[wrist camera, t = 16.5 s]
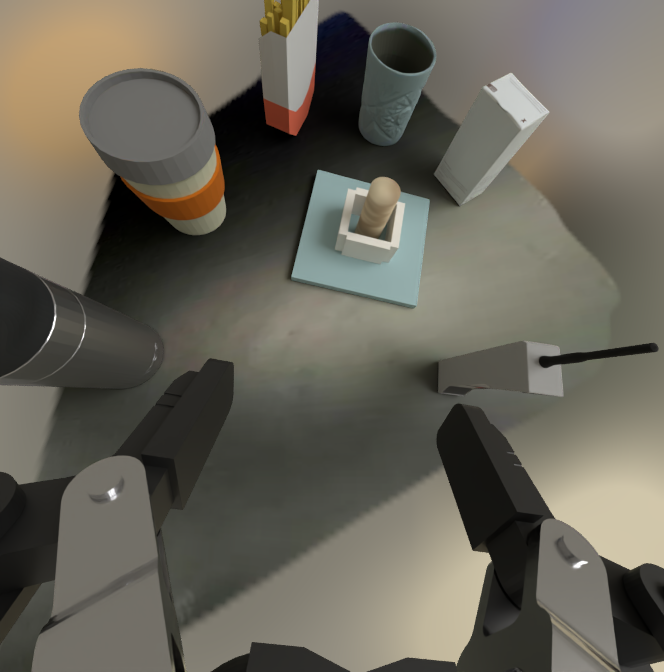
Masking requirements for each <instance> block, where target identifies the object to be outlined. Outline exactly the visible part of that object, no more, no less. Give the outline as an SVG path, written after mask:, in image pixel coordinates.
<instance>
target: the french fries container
mask: <svg viewBox="0 0 664 672" xmlns="http://www.w3.org/2000/svg"><path fill="white" fill-rule="evenodd" d="M264 3H265V18H264V17H263V18H262V19H261V20H260V28H261V35H262V37H260V38H259V49H260V61H261V74H262V86H263V98H264V107H265V116H266V124H268V125H270V126H273V127H275V128H277V129H280V130H282V131H284V132H286V133H289V134H292V135H295V136H296V135H297V133H298V131H299V129H300V128H301V126H302V124H303V122H304V120H305V118H306V117H307V115H308V111H309V107H310V103H311V99H312V95H313V91H314V80H315V61H316V42H317V23H318V3H319V0H281V4H280V3H278V2H276V1H275V2H274V0H264Z"/></svg>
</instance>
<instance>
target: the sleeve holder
mask: <svg viewBox="0 0 664 672" xmlns="http://www.w3.org/2000/svg"><path fill="white" fill-rule="evenodd" d="M370 185H371V184H370V183H366V182H362V181H358V180H354V179H351V178H347V177H343V176H339V175H336V174H332V173H328V172H324V171H321V170H318V171H317V175H316V179H315V183H314V187H313V191H312V195H311V200H310V204H309V208H308V212H307V216H306V220H305V224H304V228H303V232H302V236H301V240H300V244H299V248H298V252H297V256H296V260H295V264H294V268H293V272H292V276H291V280H293V281H298V282H302V283H306V284H311V285H315V286H319V287H324V288H328V289H332V290H336V291H341V292H345V293H349V294H354V295H358V296H362V297H367V298H371V299H375V300H380V301H384V302H388V303H393V304H397V305H401V306H406V307H410V308H415V307H416V306H417V300H418V291H419V283H420V275H421V267H422V259H423V251H424V243H425V235H426V227H427V219H428V211H429V203H430V199H426V198H422V197H418V196H415V195H411V194H407V193H403V192H401V194H400V198H399V200H398V201H397V203H396V205H395V207H394V209H393V211H392V213H391V215H390V217H389V219H388V221H387V223H386V225H385V227H384V229H383V231H382V233H381V235H380V237H379V239H375V238H371V237H367V236H363V235H359V234H355V233H354V232H355V229H356V226H357V223H358V220H359V217H360V214H361V211H362V209H363V206H364V203H365V200H366V197H367V194H368V191H369V188H370Z"/></svg>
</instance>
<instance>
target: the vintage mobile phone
mask: <svg viewBox="0 0 664 672" xmlns="http://www.w3.org/2000/svg"><path fill="white" fill-rule="evenodd" d="M657 351H658V346H657V345H656V344H655V343H649V344H642V345H635V346H629V347H621V348H615V349H608V350H601V351H594V352H587V353H581V352H578V353H570V354H564V355H560V348H559V347H558V346H556V345H550V344H543V343H536V342H529V341H519V342H515V343H511V344H507V345H502V346H498V347H494V348H490V349H486V350H481V351H477V352H473V353H469V354H465V355H461V356H456V357H452V358H448V359H444V360H440V361H439V372H438V393H442V394H451V395H459V396H465V395H466V394H467V393H469V392H470V391H471V390H472V389H499V390H509V391H519V392H522V393H532V394H541V395H551V396H560V397H563V385H562V372H561V364H570V363H579V362H583V361H587V360H592V359H600V358H609V357H617V356H625V355H633V354H642V353H650V352H657Z"/></svg>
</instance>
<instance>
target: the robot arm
mask: <svg viewBox="0 0 664 672" xmlns="http://www.w3.org/2000/svg"><path fill="white" fill-rule="evenodd" d="M162 358H163V344H162V340H161V338H160V336H159V335H158V334H157V332H156V331H155V330H154V329H152V328H151V327H150V326H148V325H146V324H143V323H141V322H139V321H137V320H135V319H133V318H131V317H129V316H127V315H124V314H122V313H120V312H118V311H116V310H114V309H111V308H109V307H107V306H105V305H103V304H100V303H98V302H96V301H94V300H92V299H90V298H87V297H85V296H83V295H81V294H79V293H77V292H74V291H72V290H70V289H68V288H66V287H63V286H61V285H59V284H57V283H54V282H52V281H50V280H48V279H46V278H44V277H41V276H39V275H37V274H35V273H33V272H30V271H28V270H26V269H24V268H22V267H20V266H17V265H15V264H13V263H10V262H8V261H6V260H4V259H2V258H0V385H19V386H52V387H82V388H110V389H127V388H132V387H135V386H138V385H140V384H142V383H144V382H145V381H147V380H148V379H150V378H151V377H152V376H153V375H154V374H155V372H156V371H157V370H158V368H159V366H160V364H161V362H162ZM233 387H234V365H233V363H232V362H228V361H222V360H216V359H208V360H207V362H206V363H205V364H204V366H203V367H202V369H201V370H200V371H199V372H194V371H188V372H187V373H185V374H183V375H182V376H180V377H179V378H177V379H175V380H174V381H173V383H172V384H171V385H170V386H169V388H168V389H167V390H166V391H165V393H164V395H162V396H161V398H160V399H159V400H158V401H157V403H156V405H155V406H153V408H152V409H151V410H150V411H149V413H148V414H147V415H146V416H145V417H144V419H143V420H142V421H141V422H140V424H139V425H138V426H137V427H136V429H135V430H134V431H133V432H132V434H131V435H130V436H129V437H128V439H127V440H126V441H125V442H124V444H123V445H122V446H121V447H120V449H119V450H118V451H117V452H116V453H115V454H114V455H113V456H112V457H109V458H105V459H103V460H100V461H98V462H96V463H94V464H92V465H90V466H89V467H87V468H85V469H84V470H83V471H81V472H80V473H79V474H78V475H76V476H72V477H67V478H61V479H54V480H47V481H41V482H34V483H28V484H21V485H18V484H17V482H16V481H15V480H14V478H13V477H12V476H11V475H9V474H7V473H4V472H0V644H1V643H2V641H3V640H4V638H5V637H6V635H7V634H8V632H9V631H10V629H11V628H12V626H13V625H14V624H15V622H16V621H17V619H18V618H19V616H20V615H21V613H22V612H23V610H24V609H25V607H26V606H27V604H28V603H29V601H30V600H31V598H32V597H33V595H34V594H35V592H36V591H37V589H38V588H39V586H40V585H41V584H42V583H44V582H48V581H52V580H55V589H54V602H53V610H52V615H51V618H50V620H49V622H48V623H47V624H46V625H45V626H44V627H43V628H42V630H41V632H40V634H39V637H38V640H37V643H36V647H35V651H34V657H33V664H32V672H187V671H186V665H185V659H184V653H183V647H182V641H181V636H180V631H179V625H178V621H177V616H176V611H175V607H174V601H173V595H172V590H171V584H170V578H169V572H168V566H167V560H166V554H165V548H164V542H163V536H162V530H161V526H162V524H163V522H164V520H165V518H166V516H167V514H168V512H169V510H170V508H171V509H179V510H183V509H184V507H185V505H186V503H187V500H188V498H189V496H190V494H191V492H192V490H193V488H194V486H195V483H196V481H197V479H198V477H199V475H200V473H201V471H202V469H203V466H204V464H205V462H206V460H207V458H208V456H209V454H210V451H211V449H212V447H213V445H214V443H215V441H216V439H217V437H218V434H219V432H220V430H221V428H222V426H223V424H224V422H225V420H226V417H227V415H228V413H229V411H230V408H231V405H232V401H233ZM437 448H438V451H439V454H440V457H441V459H442V462H443V465H444V468H445V471H446V474H447V477H448V480H449V483H450V486H451V488H452V491H453V494H454V497H455V500H456V503H457V506H458V509H459V512H460V515H461V518H462V521H463V524H464V526H465V530H466V532H467V535H468V538H469V541H470V544H471V547H472V550H473V551H479V552H486V553H489V554H490V557H491V560H492V561H491V562H490V563H489V565H488V566H487V570H486V575H485V579H484V584H483V588H482V593H481V597H480V602H479V607H478V612H477V616H476V621H475V625H474V630H473V634H472V636H471V639H470V641H469V643H468V644H467V646H466V647H465V649H464V650H463V652H462V654H461V656H460V658H459V660H458V663H457V666H456V664H455V662H446V661H436V660H427V659H417V658H405V659H402V660H399V661H396V662H393V663H391V664H388V665H385V666H382V667H379V668H377V669H374V670H371V671H368V672H654V671H653V669H652V668H651V666H650V664H653V663H657V662H661V661H664V569H663V568H661V567H659V566H657V565H654V564H648V563H646V564H643V565H641V566H638V567H636V568H634V569H632V570H629V569H627V568H625V567H622V566H621V565H618V564H616V563H614V562H612V561H610V560H608V559H606V558H604V557H602V556H600V555H598V553H597V552H596V551H595V549H594V548H593V547H592V545H591V544H590V543H589V542H588V541H587V540H586V539H585V538H584V537H583V536H582V535H581V534H580V533H579V532H578V531H576V530H575V529H574V528H572V527H571V526H569V525H568V524H566V523H564V522H562V521H559V520H556V519H555V518H554V516H553V515H552V513H551V512H550V510H549V508H548V506H547V505H546V503H545V502H544V500H543V498H542V497H541V495H540V493H539V492H538V490H537V488H536V487H535V485H534V484H533V482H532V480H531V479H530V477H529V476H528V474H527V472H526V470H525V469H524V468H523V467H522V466H521V462H520V461H519V459H518V457H517V456H516V455H514V451H513V449H512V447H511V446H510V444H509V443H508V441H507V439H506V438H505V437H504V436H503V435H502V434H501V432H500V431H499V430H498V429H497V428H496V427H495V426H494V425H493V424H490V422H489V420H488V419H487V417H486V415H485V414H484V412H483V410H482V409H481V408H479V407H475V406H469V405H464V404H456V405H454V406H453V408H452V409H451V411H450V413H449V414H448V416H447V417H446V419H445V421H444V422H443V424H442V425H441V427H440V429H439V430H438V433H437ZM211 672H350V671H348V670H346V669H344V668H342V667H340V666H339V665H337V664H335V663H333V662H331V661H329V660H327V659H325V658H323V657H322V656H320V655H318V654H316V653H314V652H312V651H310V650H308V649H306V648H304V647H296V646H286V645H276V644H266V643H255V642H252V644H251V649H250V653H249V654H245V655H242V656H239V657H236V658H234V659H232V660H230V661H228V662H226V663H224V664H222V665H220V666H219V667H218V668H216V669H214V670H213V671H211Z"/></svg>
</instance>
